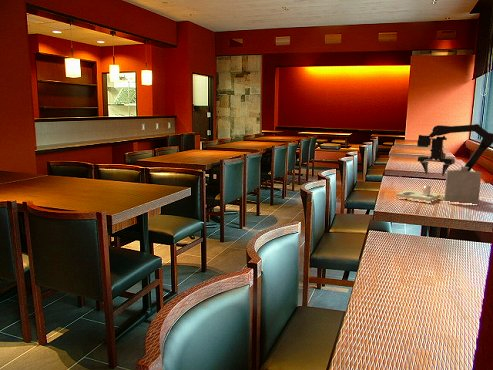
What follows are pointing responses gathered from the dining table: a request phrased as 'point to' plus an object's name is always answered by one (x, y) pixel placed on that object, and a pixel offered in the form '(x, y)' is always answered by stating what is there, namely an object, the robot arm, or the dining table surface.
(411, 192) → the socket block
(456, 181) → the grey upright panel
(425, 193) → the plug
